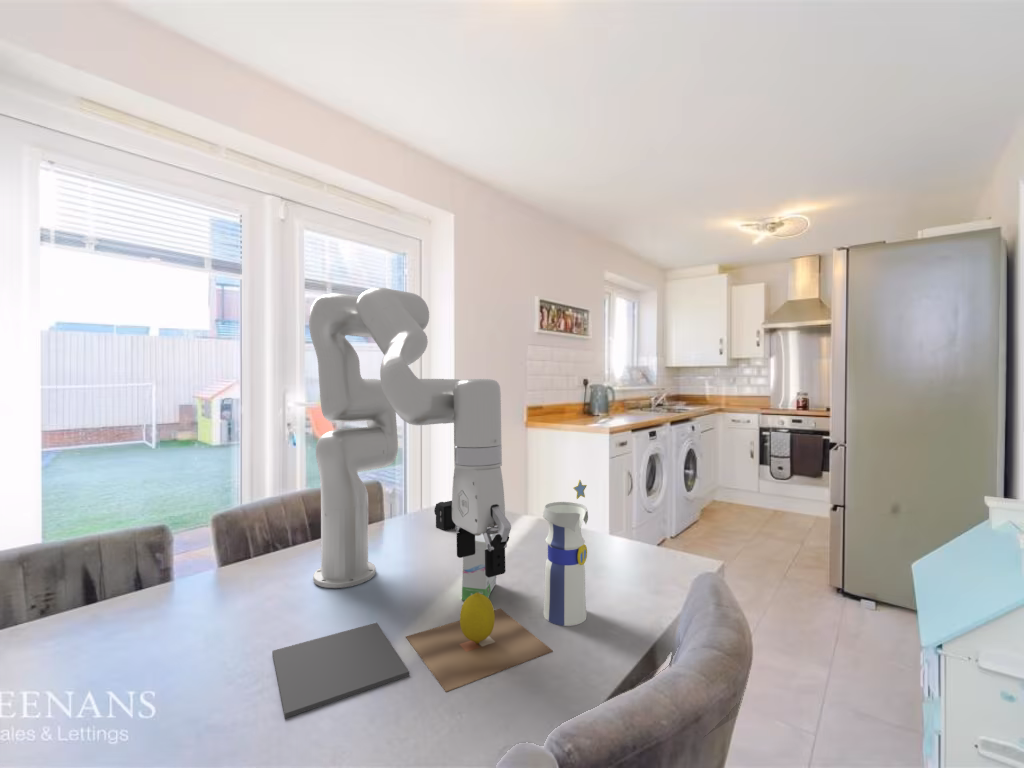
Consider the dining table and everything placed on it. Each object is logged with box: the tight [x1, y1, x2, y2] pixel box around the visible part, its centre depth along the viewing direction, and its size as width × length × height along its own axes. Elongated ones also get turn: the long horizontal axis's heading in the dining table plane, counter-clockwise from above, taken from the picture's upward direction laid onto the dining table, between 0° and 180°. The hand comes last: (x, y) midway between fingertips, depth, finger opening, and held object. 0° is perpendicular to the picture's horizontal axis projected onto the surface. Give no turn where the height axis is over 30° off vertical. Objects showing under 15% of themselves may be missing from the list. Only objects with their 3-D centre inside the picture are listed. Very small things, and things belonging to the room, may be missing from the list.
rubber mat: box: [271, 622, 410, 719], centre depth 69 cm, size 16×16×1 cm
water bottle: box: [542, 479, 589, 627], centre depth 84 cm, size 8×9×25 cm
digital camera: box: [434, 500, 456, 532], centre depth 137 cm, size 10×5×7 cm, turn 131°
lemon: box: [459, 592, 495, 643], centre depth 75 cm, size 6×6×8 cm
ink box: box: [461, 527, 497, 601], centre depth 93 cm, size 9×5×12 cm, turn 168°
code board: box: [405, 608, 554, 693], centre depth 75 cm, size 16×18×1 cm
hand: (480, 564), depth 74 cm, fingers open, 9 cm apart
